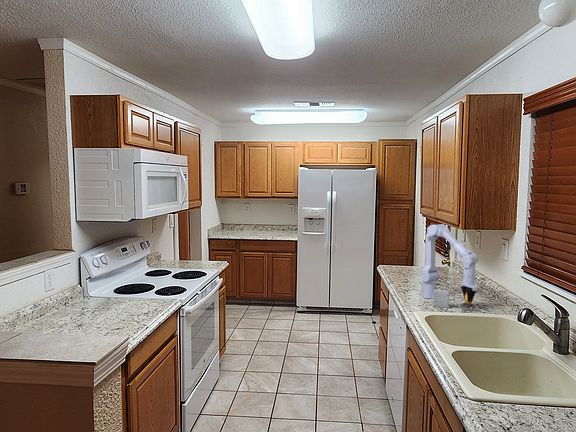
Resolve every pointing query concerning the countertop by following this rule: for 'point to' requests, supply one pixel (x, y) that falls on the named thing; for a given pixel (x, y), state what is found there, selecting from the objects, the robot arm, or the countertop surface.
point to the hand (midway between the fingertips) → (468, 300)
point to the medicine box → (440, 298)
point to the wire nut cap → (467, 300)
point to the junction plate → (468, 307)
